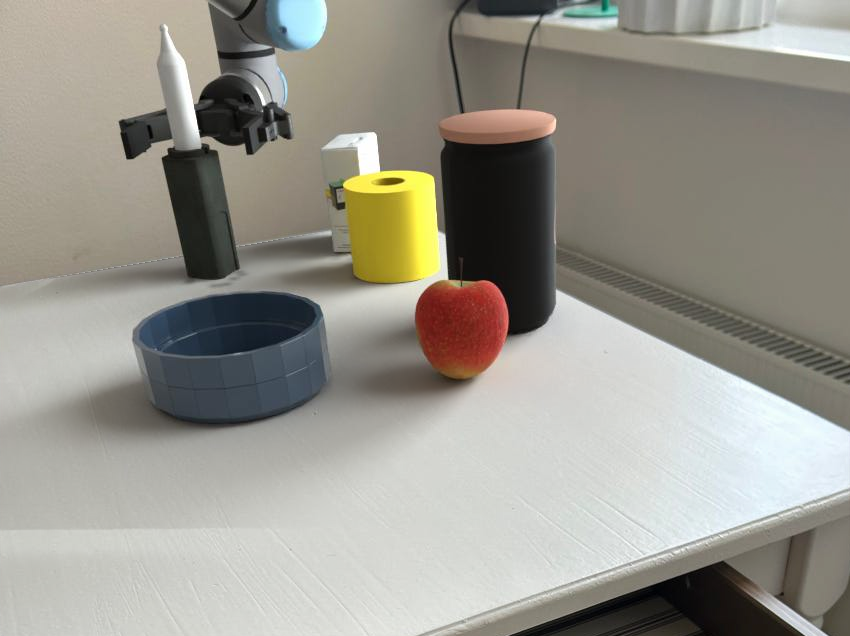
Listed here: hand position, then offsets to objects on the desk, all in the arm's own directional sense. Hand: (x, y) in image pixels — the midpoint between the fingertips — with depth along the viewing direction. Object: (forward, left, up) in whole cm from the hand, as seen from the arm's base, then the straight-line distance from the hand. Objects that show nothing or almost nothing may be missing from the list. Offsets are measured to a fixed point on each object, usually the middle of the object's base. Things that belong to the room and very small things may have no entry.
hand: (186, 143), depth 107 cm
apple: (+32, -32, -14) cm, 47 cm away
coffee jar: (+35, -18, -14) cm, 42 cm away
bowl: (+12, -34, -14) cm, 38 cm away
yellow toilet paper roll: (+22, -1, -14) cm, 26 cm away
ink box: (+16, +10, -14) cm, 24 cm away
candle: (0, 0, -14) cm, 14 cm away
